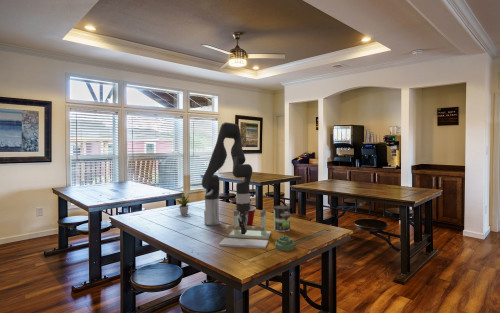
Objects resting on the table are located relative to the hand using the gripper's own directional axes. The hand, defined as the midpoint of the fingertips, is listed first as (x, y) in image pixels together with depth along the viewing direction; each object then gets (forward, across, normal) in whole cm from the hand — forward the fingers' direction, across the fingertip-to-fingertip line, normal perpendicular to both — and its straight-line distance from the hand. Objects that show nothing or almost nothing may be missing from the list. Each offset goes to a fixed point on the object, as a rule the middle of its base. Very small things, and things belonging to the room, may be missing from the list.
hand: (243, 233), depth 160 cm
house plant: (+6, -61, -63) cm, 88 cm away
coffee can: (+6, -30, +17) cm, 35 cm away
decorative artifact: (+6, +2, +22) cm, 23 cm away
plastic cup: (+6, -36, -6) cm, 37 cm away
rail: (-3, 0, 0) cm, 3 cm away
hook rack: (+6, -15, 0) cm, 16 cm away
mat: (+6, 0, 0) cm, 6 cm away
